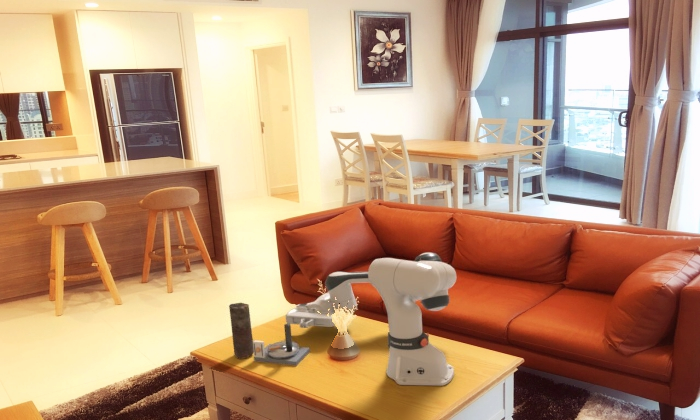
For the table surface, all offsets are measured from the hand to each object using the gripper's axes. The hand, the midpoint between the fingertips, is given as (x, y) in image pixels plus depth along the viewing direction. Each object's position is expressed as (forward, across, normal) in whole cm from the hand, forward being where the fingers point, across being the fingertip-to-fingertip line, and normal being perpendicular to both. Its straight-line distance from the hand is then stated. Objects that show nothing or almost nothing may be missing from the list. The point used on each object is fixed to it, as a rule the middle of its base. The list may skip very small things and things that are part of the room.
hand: (303, 325), depth 217 cm
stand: (+10, +5, -8) cm, 14 cm away
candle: (+12, +20, -9) cm, 24 cm away
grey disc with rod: (+10, +4, -7) cm, 13 cm away
